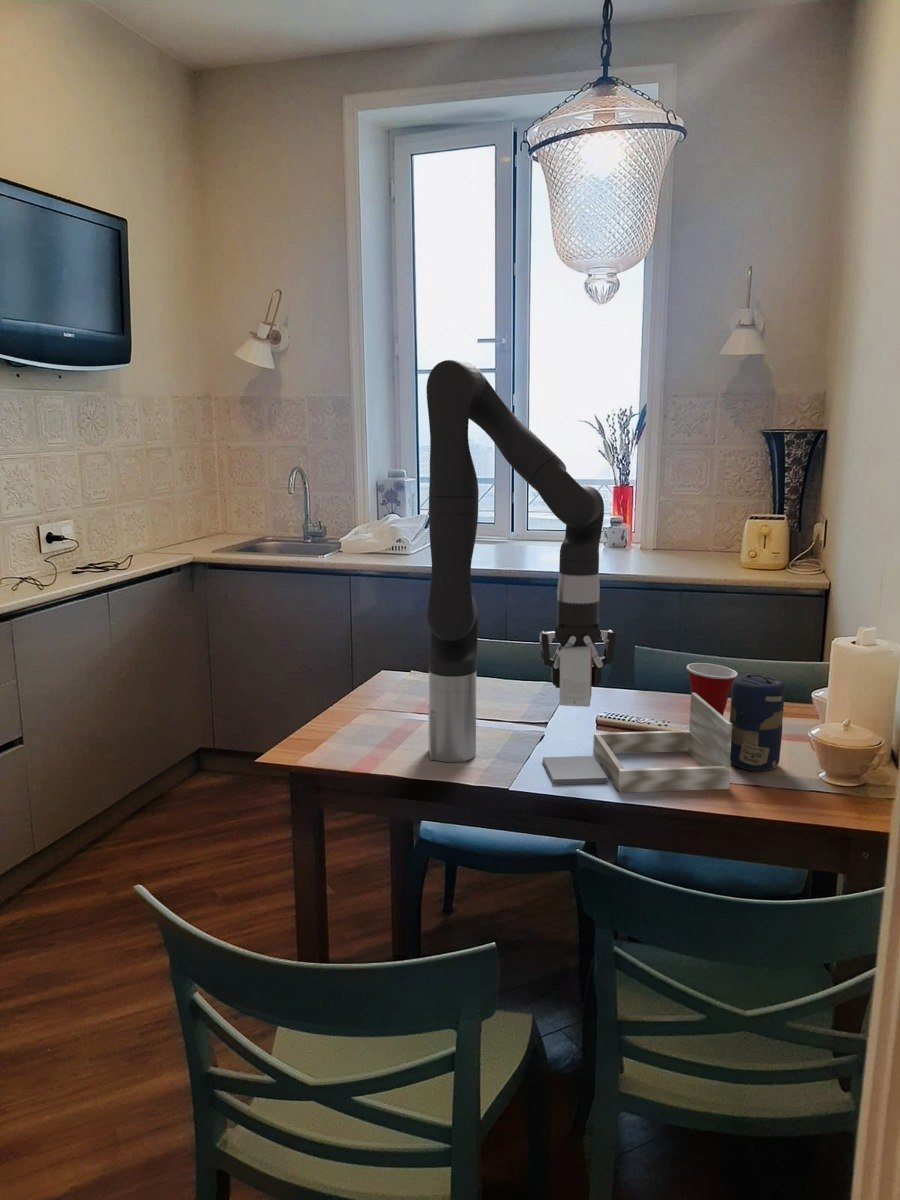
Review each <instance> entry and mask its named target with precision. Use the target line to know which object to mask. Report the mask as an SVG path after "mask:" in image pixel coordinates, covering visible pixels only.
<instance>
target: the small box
mask: <svg viewBox="0 0 900 1200" xmlns="http://www.w3.org/2000/svg"><path fill="white" fill-rule="evenodd" d="M592 665H593V661H592V648H591V647H586V646H581V647H571V648H568V647H567V648H563V647H562V648H561V650H560V688H559V706H560V707H561V706H563V707H564V706H565V707H569V706H570V707H585V708H587V707H591V700H592V699H591V698H592V687H593V686H592Z"/></svg>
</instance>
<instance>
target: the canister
mask: <svg viewBox="0 0 900 1200" xmlns="http://www.w3.org/2000/svg"><path fill="white" fill-rule="evenodd" d="M785 694H786V686H785V683H784V682H783V681H782V680H780V679H779V678H777V677H774V676H769V675H763V674H760V673H758V674H757V673H749V674H741V675H737V677H735V679H734V680H733V683H732V686H731V697H730V698H731V699H730V711H729V722H730V723H732V737H731V753H730V763H731V764H733V765H734V766H737V768H741V769H744V770H750V771H768V770H772V769H774V768H776V767H777V766H778V765H779V763H780V759H781V746H782V738H783V737H782V736H783V720H784V719H783V716H784V706H785V705H784V704H785V696H786V695H785Z"/></svg>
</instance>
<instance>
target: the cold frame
mask: <svg viewBox="0 0 900 1200" xmlns="http://www.w3.org/2000/svg"><path fill="white" fill-rule="evenodd" d="M689 706H690V710H689V711H690V712H689V724H688V725H689V730H688V729H687V730H658V731H655V730H654V731H652V730H651V731H626V732H625V731H624V732H618V731H617V732H593V742H592V743H593V746H592V747H593V748H592V749H593V750H592V753H593V754H594V757H595V758H596V760H597V761H598V763H599V764H600V766H601V767H602V769H603V770H604V772H605V774H606V775H607V777H608V778H609V779H610V780H611V782H612V783H613V784H614V786H615V788H616V790H617V791H618V792H619V793H645V792H646V793H647V792H648V793H649V792H676V791H677V792H679V791H706V790H708V791H709V790H730V784H731V771H732V769H731V766H730V765H731V761H730V753H731V737H732V723H730V720H728V719H727V718H726V717H724V715H723V716H722V715H721V714H720V713H719V712H717V711H716V710H715V709H714V708H713V707H712V706H710V705H709V704H708V703H707V702H706V701H704V700H703V699H702V698H701V697H700V696H699V695H697V694H696V693H691V692H690V705H689ZM671 752H672V753H675V752H677V753H679V752H688V753H689V754H690V755H691V756H692V757H693V758H694V760H696V762H698V764H700V765H701V766H679V767H678V766H677V767H675V766H674V767H647V768H645V767H644V768H641V767H640V768H624V766H623V765H622V763H621V762H620V761H619V759H618V758H617V756H616V755H615V754H637V753H638V754H639V753H640V754H642V753H671Z"/></svg>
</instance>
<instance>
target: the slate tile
mask: <svg viewBox="0 0 900 1200" xmlns="http://www.w3.org/2000/svg"><path fill="white" fill-rule="evenodd" d="M542 764H543V766H544V768H545V770H546V772H547V774H548V777H549V779H550V781H551V783H552V784H557V785H577V784H578V785H581V784H586V785H587V784H608V782H609V781H608V780H609V779H608V778H609V776H608V774H607V773H606V771H605V770H604V768H603V767H602V765H601V764H600V762H599V761H598V759H597V758H596V756H595V755H581V756H580V755H579V756H576V755H574V756H571V755H570V756H544V757H542Z"/></svg>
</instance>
